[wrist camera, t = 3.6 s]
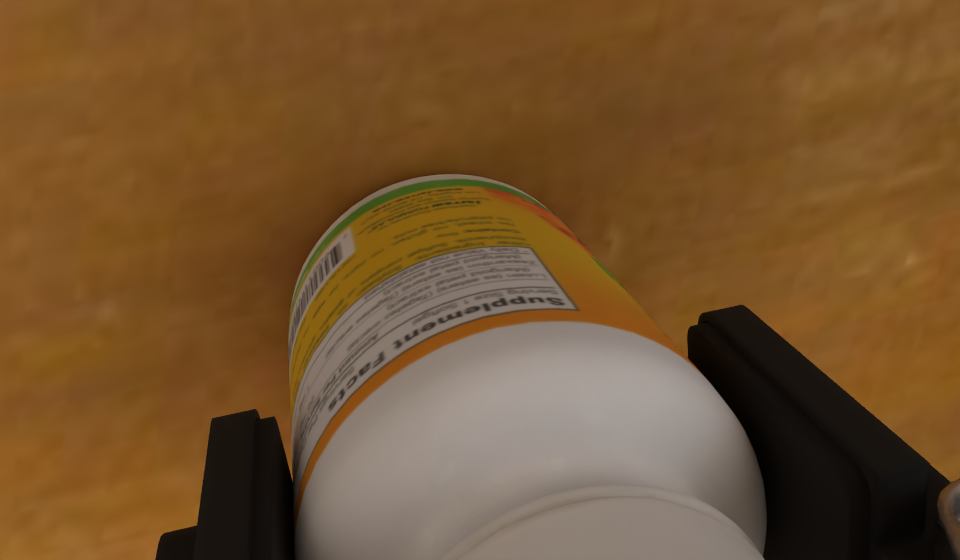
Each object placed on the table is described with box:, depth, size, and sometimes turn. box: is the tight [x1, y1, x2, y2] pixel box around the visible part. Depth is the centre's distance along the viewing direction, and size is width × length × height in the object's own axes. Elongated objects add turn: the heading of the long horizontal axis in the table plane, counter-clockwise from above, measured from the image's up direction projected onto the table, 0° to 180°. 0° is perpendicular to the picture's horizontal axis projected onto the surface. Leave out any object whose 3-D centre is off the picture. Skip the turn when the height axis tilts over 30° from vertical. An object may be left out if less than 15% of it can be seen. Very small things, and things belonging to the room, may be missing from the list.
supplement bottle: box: [289, 174, 767, 560], centre depth 12 cm, size 5×5×10 cm
